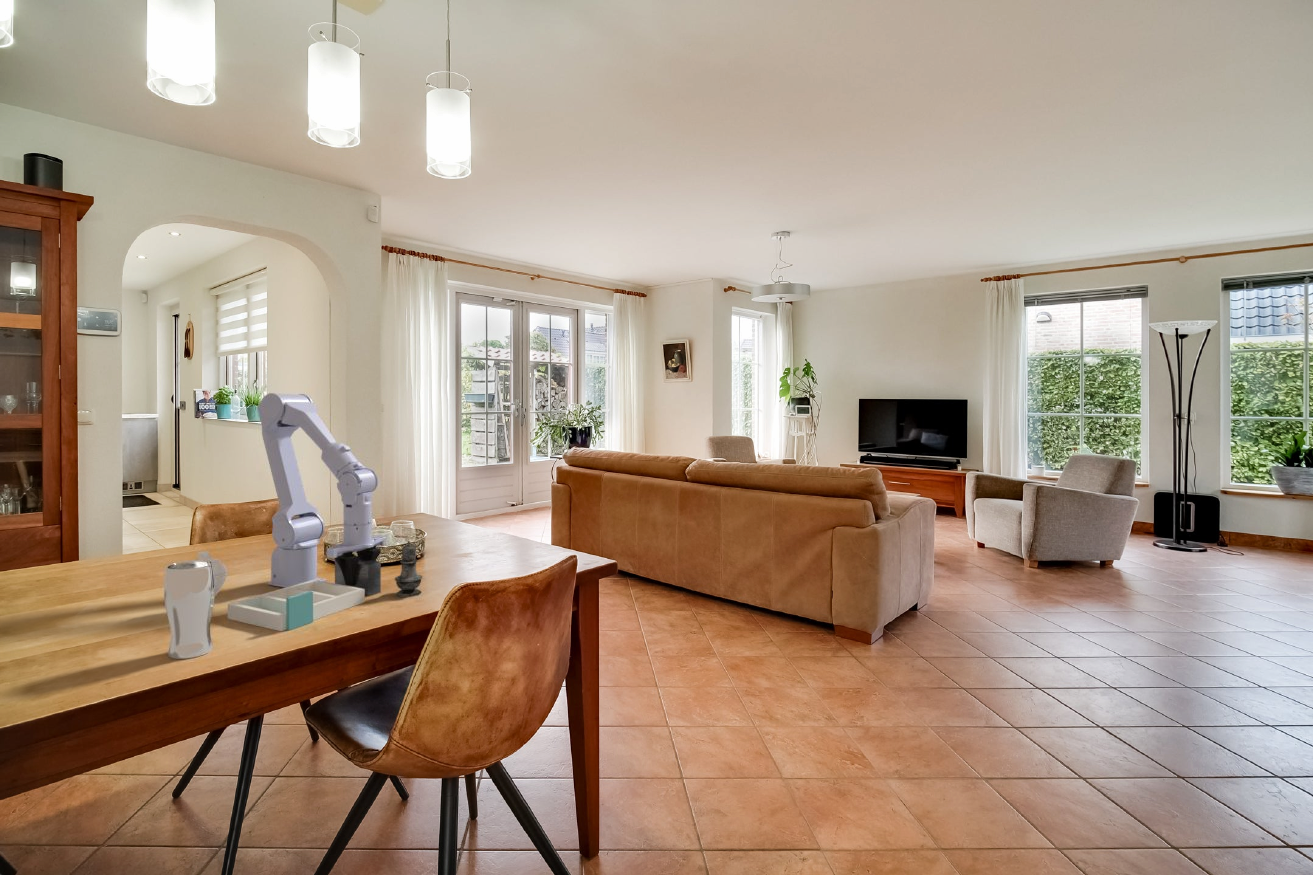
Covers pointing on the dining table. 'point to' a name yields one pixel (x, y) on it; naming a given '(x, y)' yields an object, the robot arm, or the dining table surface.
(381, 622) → the dining table surface
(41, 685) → the dining table surface
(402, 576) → the dark grey stone ornament
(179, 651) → the beer glass
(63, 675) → the dining table surface
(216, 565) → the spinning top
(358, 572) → the dark grey block
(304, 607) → the divided tray
